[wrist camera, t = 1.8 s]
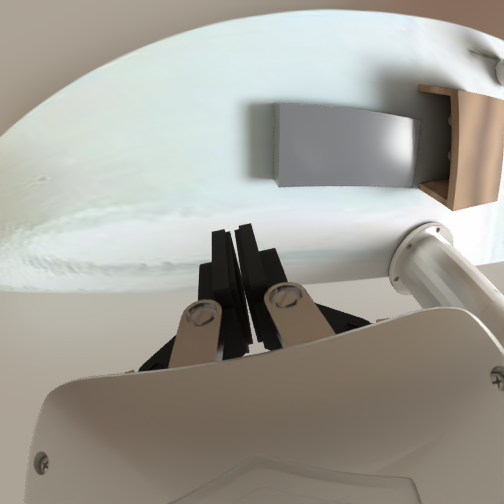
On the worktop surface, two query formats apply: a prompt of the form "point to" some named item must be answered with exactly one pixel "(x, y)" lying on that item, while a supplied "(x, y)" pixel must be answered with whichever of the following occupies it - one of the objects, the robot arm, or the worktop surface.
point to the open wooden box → (471, 150)
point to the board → (343, 147)
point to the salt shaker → (500, 72)
